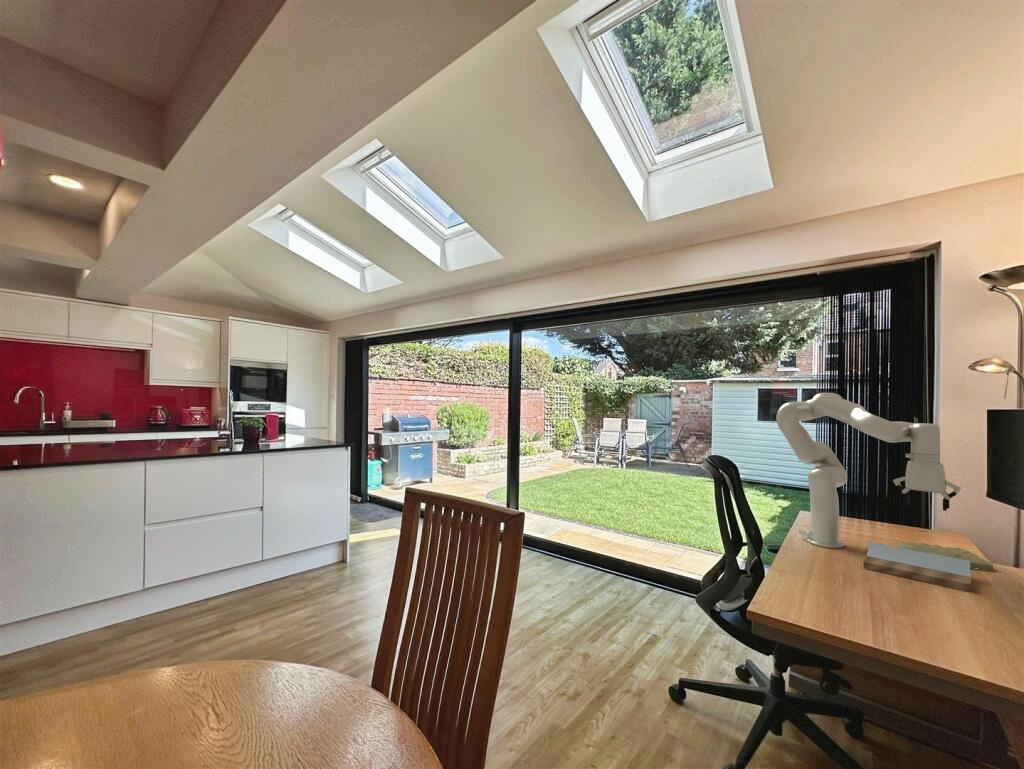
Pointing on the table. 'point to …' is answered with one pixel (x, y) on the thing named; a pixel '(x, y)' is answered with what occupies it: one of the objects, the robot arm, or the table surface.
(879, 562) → the walnut plank
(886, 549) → the grey-blue plank
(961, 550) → the decorative tile
